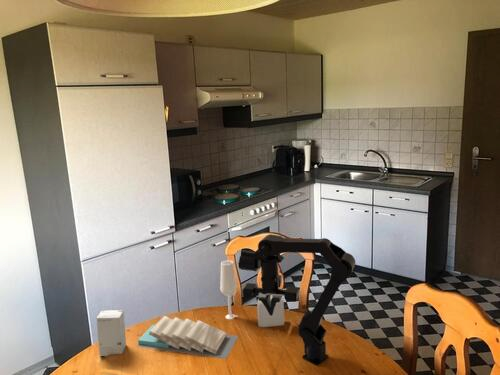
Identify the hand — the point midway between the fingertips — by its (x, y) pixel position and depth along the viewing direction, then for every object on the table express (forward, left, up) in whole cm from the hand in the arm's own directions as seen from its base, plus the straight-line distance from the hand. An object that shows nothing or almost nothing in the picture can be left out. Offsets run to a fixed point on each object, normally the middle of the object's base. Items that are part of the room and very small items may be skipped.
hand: (271, 315), depth 142 cm
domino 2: (+26, +19, -11) cm, 34 cm away
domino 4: (+18, +14, -11) cm, 25 cm away
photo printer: (+11, -11, -13) cm, 20 cm away
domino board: (+25, +18, -13) cm, 33 cm away
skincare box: (+41, +39, -13) cm, 58 cm away
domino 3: (+22, +16, -11) cm, 30 cm away
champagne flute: (+27, -4, -13) cm, 30 cm away
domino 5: (+14, +12, -11) cm, 21 cm away
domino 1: (+30, +21, -11) cm, 38 cm away
